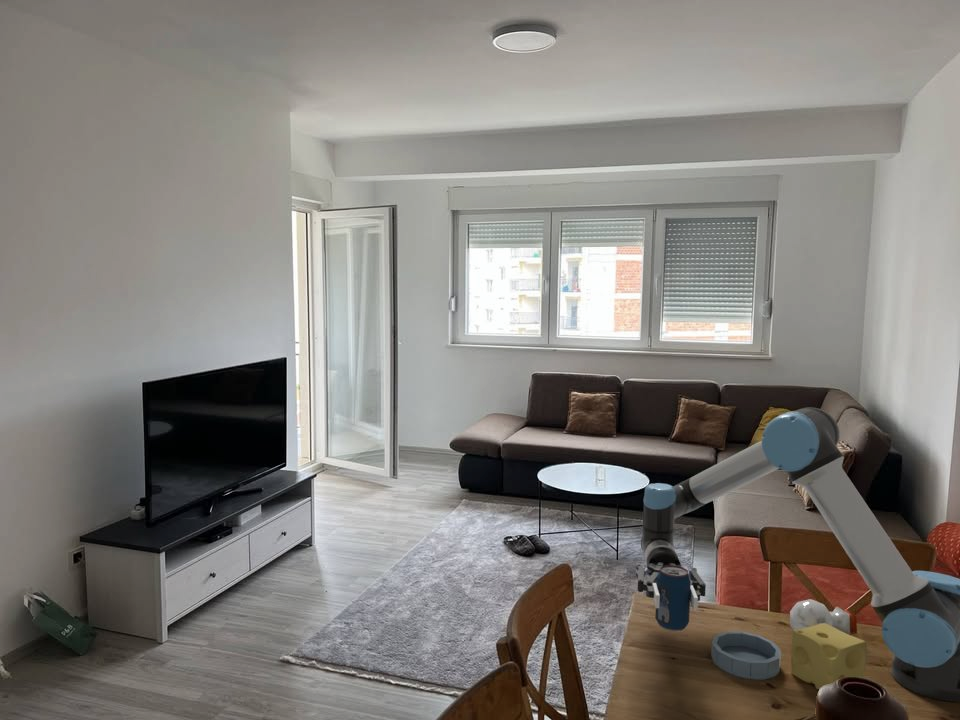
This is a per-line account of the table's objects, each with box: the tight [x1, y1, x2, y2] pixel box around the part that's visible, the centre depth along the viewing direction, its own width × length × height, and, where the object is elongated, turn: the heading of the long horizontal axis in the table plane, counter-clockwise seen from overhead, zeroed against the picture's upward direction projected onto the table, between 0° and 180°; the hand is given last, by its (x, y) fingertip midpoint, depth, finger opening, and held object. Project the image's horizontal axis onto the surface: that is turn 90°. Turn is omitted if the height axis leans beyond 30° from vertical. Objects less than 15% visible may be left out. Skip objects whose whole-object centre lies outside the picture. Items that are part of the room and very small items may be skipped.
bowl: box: [710, 630, 782, 681], centre depth 157 cm, size 14×14×4 cm
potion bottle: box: [789, 598, 858, 636], centre depth 169 cm, size 9×10×15 cm
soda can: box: [654, 565, 691, 632], centre depth 151 cm, size 7×7×12 cm
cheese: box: [790, 623, 868, 690], centre depth 150 cm, size 10×11×10 cm
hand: (676, 602), depth 146 cm, fingers closed on soda can, 7 cm apart
